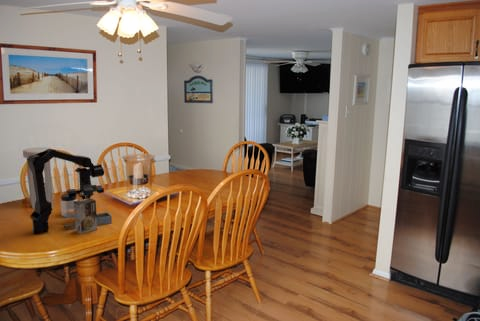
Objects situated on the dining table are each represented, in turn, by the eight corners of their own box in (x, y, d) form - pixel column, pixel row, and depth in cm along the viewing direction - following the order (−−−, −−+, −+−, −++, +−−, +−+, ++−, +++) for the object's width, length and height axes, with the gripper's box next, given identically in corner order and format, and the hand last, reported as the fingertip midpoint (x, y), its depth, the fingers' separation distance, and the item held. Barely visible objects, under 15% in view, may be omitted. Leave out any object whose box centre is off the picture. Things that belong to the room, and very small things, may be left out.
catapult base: (66, 230, 199) (65, 220, 198) (64, 226, 204) (63, 216, 203) (96, 225, 208) (95, 215, 207) (93, 221, 213) (93, 212, 212)
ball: (67, 216, 200) (67, 210, 199) (66, 215, 203) (66, 208, 202) (74, 215, 202) (74, 209, 201) (73, 213, 205) (73, 207, 204)
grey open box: (97, 225, 207) (96, 217, 206) (93, 221, 213) (93, 213, 213) (111, 223, 212) (111, 215, 211) (107, 219, 218) (107, 211, 217)
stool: (57, 205, 239) (53, 150, 232) (29, 209, 230) (24, 152, 223) (53, 199, 251) (49, 146, 244) (26, 203, 242) (21, 148, 236)
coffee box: (91, 226, 206) (89, 197, 203) (97, 229, 202) (96, 200, 199) (74, 231, 199) (73, 201, 196) (81, 234, 195) (79, 203, 192)
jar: (66, 212, 227) (64, 192, 225) (80, 212, 228) (78, 192, 226) (59, 217, 219) (58, 197, 216) (74, 217, 219) (72, 197, 217)
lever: (66, 218, 199) (66, 215, 199) (62, 211, 209) (61, 208, 209) (94, 214, 207) (94, 210, 207) (88, 207, 217) (88, 204, 217)
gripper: (69, 184, 200) (71, 212, 203) (106, 180, 210) (107, 207, 213) (65, 179, 209) (67, 207, 212) (100, 175, 219) (101, 202, 222)
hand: (86, 206), depth 215 cm, fingers closed
